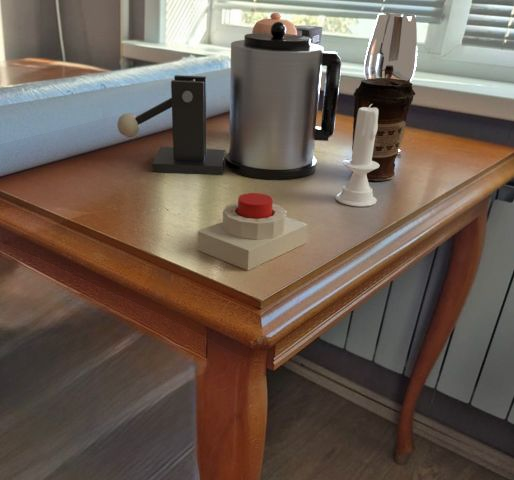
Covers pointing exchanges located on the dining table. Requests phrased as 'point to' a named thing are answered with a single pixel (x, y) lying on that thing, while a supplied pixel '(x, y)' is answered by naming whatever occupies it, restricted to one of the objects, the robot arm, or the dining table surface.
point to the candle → (361, 160)
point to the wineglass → (392, 48)
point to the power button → (255, 206)
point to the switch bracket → (189, 132)
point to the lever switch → (140, 118)
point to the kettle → (279, 104)
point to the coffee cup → (385, 119)
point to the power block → (251, 237)
